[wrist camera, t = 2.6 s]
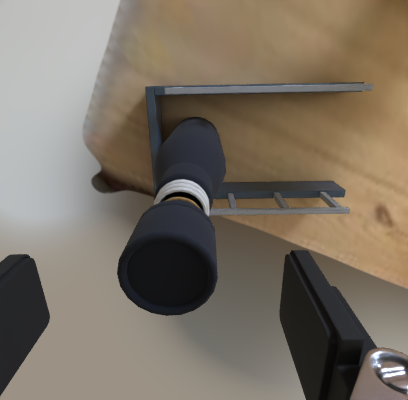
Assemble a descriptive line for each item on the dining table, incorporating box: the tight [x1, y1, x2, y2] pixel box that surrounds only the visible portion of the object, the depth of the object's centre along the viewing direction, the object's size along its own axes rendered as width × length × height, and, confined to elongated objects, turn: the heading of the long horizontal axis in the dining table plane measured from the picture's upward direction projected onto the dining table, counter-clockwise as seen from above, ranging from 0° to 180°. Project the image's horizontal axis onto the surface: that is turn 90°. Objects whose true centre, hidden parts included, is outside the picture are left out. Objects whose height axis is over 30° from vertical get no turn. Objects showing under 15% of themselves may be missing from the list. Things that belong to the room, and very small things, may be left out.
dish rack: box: [145, 82, 373, 215], centre depth 34 cm, size 25×14×10 cm, turn 91°
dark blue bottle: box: [117, 117, 226, 316], centre depth 25 cm, size 6×6×30 cm
